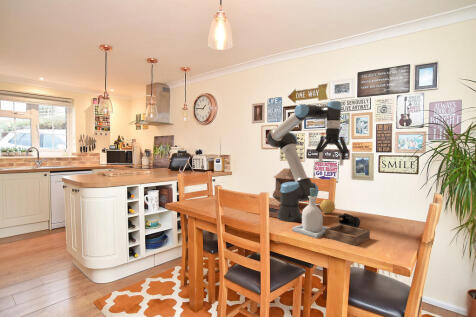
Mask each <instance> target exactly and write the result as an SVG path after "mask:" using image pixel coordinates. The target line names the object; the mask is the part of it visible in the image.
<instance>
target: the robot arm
mask: <svg viewBox="0 0 476 317" xmlns="http://www.w3.org/2000/svg"><path fill="white" fill-rule="evenodd" d="M341 114H342V103H341V101H339V100H331V101H328V102H327V105H322V106H321V105H314V104H313V105H311V104H306V103H305V104H304V103H303V104H302V103H301V104H300V103H299V104H297V105H296V106H295V108H294V112H293V113H292V114H290V116H288V117H287V118H286V119H285V120H284V121H283V122H281V123H280V124H279V125H278V126H276V127H275V128H273V129H271V130H269V132H268V134H267V136H266V141H267V143H268V145H269V146H270V147H271V148H276V149H277V148H279V149H280V152H282V153H283V154H284V157H285V158H286V160H287V164H288V166H289V169H291V172H292V174H293V177H294V180H295V182H286V183H283V184H282V185H281V190H280V191H281V203H280V207H279V208H278V209H279V210H278V213H277V219H278V220H280V221H282V222H299V221H302V212H301V211H300V210H301V209H300V202H305V201H306V202H307V201H308V202H309V198H308V196H311V195H310V188H315V195H314V196H316V197H317V198H318V194H319V191H317V190H319V187H318V185H317V184H316V183H315V182H312V180H311V178H310V177H308V176H307V173H306V171H305V168H304V166H303V164H302V162H301V159H300V157H299V154H298V152H297V149H296V148H297V145H298V138H297V135H296V134H294V133H293V132H291V131H292V130H293V129H295V127H297V126H299V125H300V124H301V123H302V122H304V121H305V120H306V119H309V118H310V119H315V120H321V119H326V123H325V127H326V129H325V136H323V135H321V136H320V140H319V142H318V144H317V146H316V148H315V151H316V152H318V154H317V157H318V164H323V157H324V156H323V155H324V152H323V151H324V150H325V148H326V147H327V146H328V145H335V146H336V148H337V149H338V150H339V152H340V153H339V166H344V161H345V159H346V154H349V149H348V146H347V143H346V141H345V137H344V136H340V130H341V129H340V127H341ZM339 141H340V142H339Z"/></svg>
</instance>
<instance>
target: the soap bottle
mask: <svg viewBox="0 0 476 317" xmlns="http://www.w3.org/2000/svg"><path fill="white" fill-rule="evenodd" d="M317 191H318V192H320V190H319V189H318V190H317ZM310 195H311V196H308V198H309V201H308V204H307V205H306V206H305V207H304V208H303V210H302V212H301V216H302V219H301V225H302V227H303V228H304V230H306V231H309V232H321V231H322V229H323V226H324V225H323V224H324V222H323V221H324V216H323V215H324V214H323V211H322V210H321V209H320V207H319V206H317V204H316V202H317V201H316V200H317V198H318V196H317V197H316V196H314V195H315V188H310Z"/></svg>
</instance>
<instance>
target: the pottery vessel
mask: <svg viewBox="0 0 476 317" xmlns="http://www.w3.org/2000/svg"><path fill="white" fill-rule="evenodd" d="M273 178H274V179H275V190H274V191H273V192H272V198H274V200H276V201H277V202H279V203H280V204H281V191H280V190H281V185H282V184H283V183H286V182H295V180H294V177H293V174H292V172H291V169H290V168H283V169H282V170H280V171H279V172H278V173H276V175H273Z"/></svg>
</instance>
